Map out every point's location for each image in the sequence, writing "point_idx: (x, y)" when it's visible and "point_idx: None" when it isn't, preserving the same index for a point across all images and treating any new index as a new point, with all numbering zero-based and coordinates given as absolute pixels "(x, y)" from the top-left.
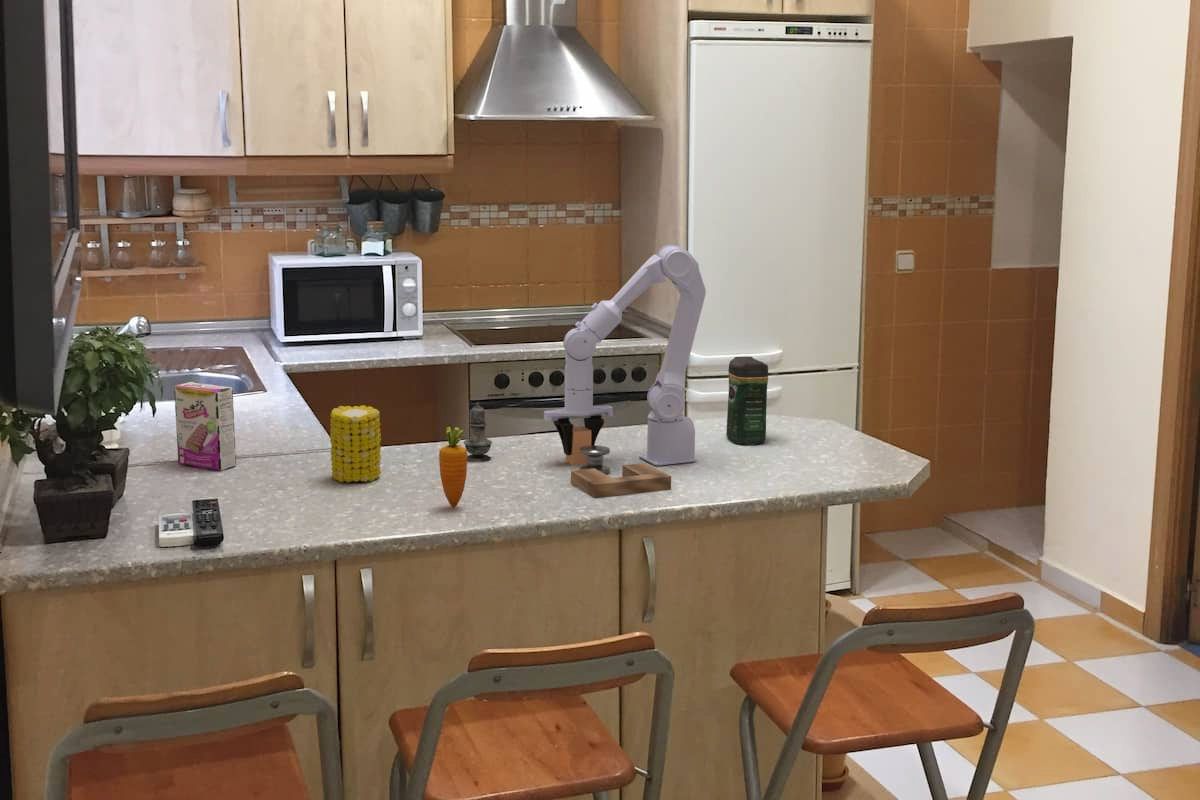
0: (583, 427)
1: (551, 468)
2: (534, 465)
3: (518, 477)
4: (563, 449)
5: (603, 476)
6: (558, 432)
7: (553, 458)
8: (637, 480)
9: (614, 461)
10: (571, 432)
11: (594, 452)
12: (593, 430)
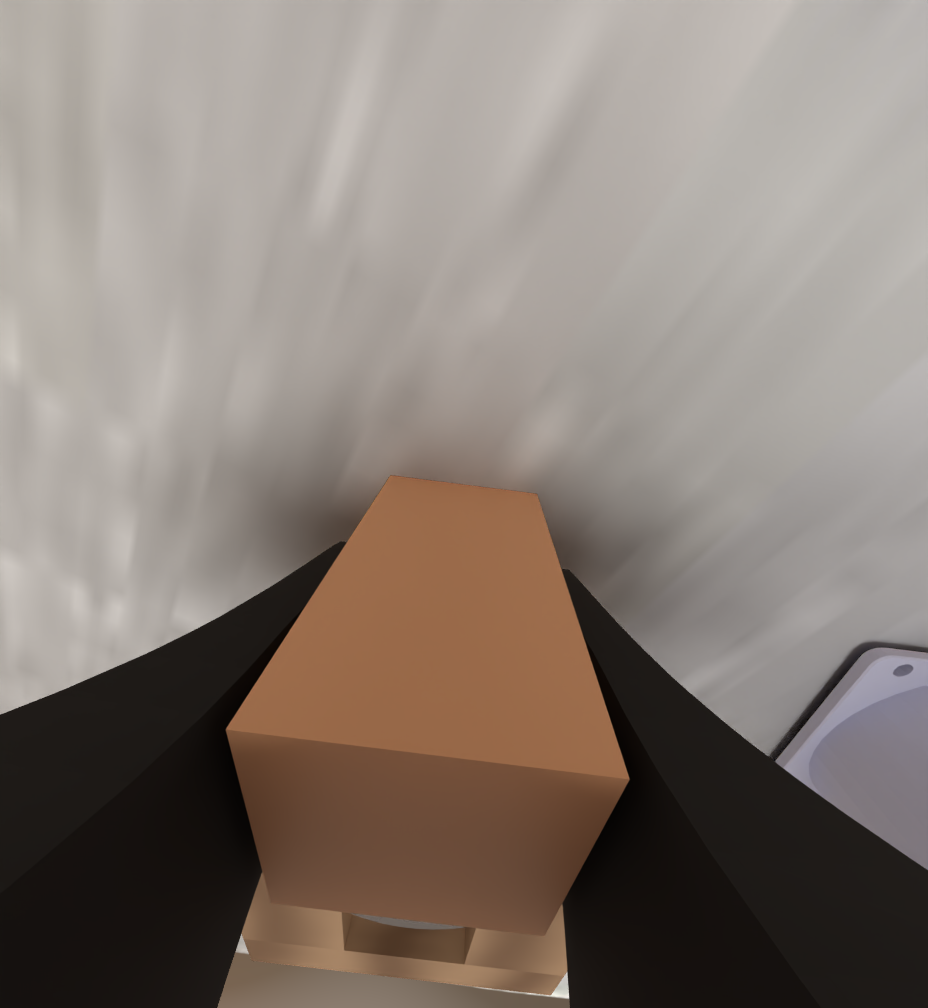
0: (559, 827)
1: (232, 584)
2: (132, 473)
3: (13, 641)
4: (320, 554)
5: (322, 935)
6: (125, 669)
7: (332, 352)
8: (417, 977)
9: (670, 631)
10: (242, 896)
11: (366, 918)
12: (571, 934)
